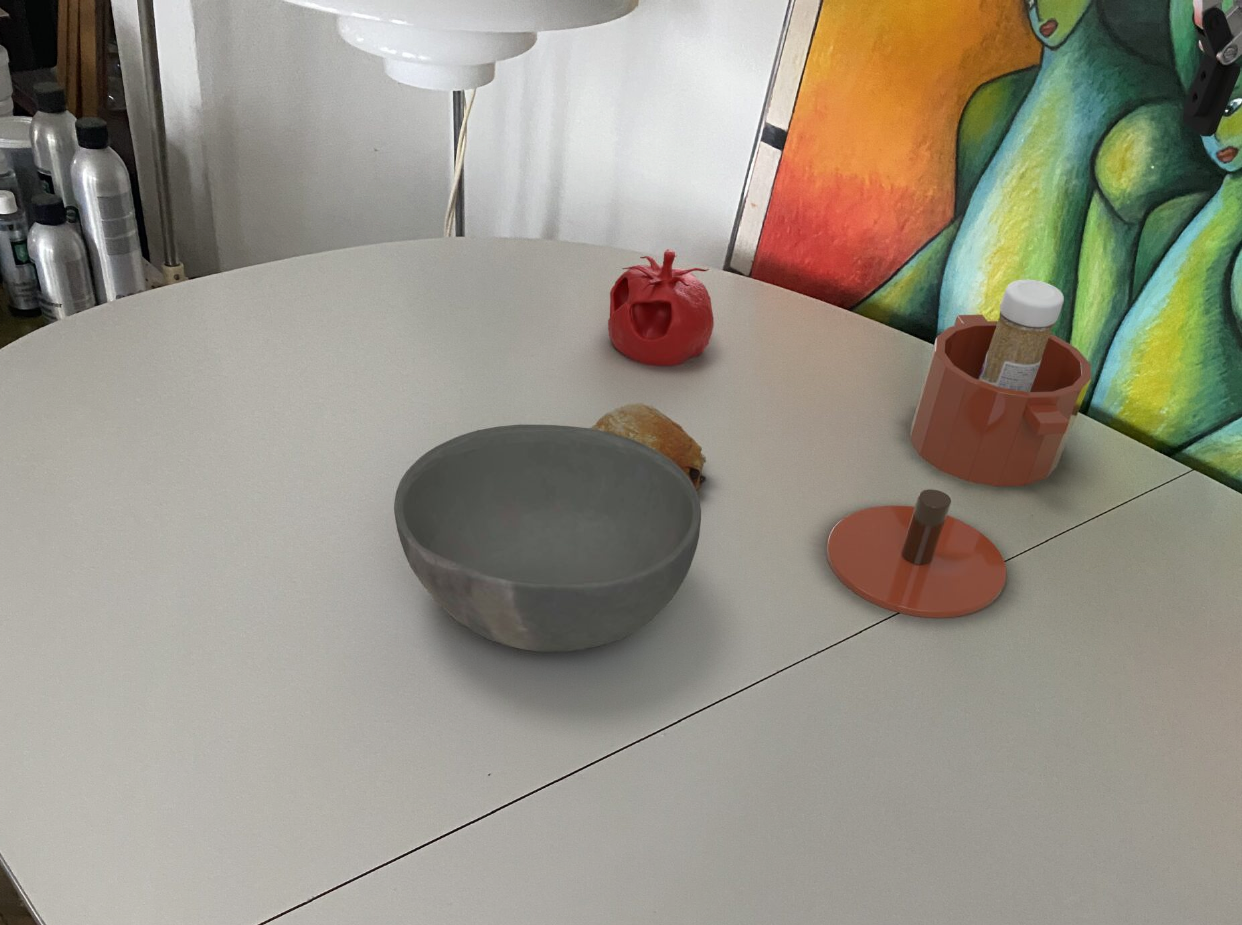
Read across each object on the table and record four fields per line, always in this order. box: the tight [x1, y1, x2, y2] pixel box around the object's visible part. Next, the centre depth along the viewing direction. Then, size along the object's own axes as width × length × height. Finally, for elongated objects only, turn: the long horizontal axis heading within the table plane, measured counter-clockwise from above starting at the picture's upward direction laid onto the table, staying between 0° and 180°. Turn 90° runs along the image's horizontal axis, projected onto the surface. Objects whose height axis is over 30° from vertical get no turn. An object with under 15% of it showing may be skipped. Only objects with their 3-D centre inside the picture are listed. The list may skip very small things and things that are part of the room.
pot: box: [909, 314, 1093, 488], centre depth 102 cm, size 13×18×8 cm
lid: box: [825, 489, 1007, 619], centre depth 90 cm, size 14×14×6 cm
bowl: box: [393, 424, 702, 653], centre depth 82 cm, size 20×20×10 cm
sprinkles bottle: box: [978, 279, 1065, 392], centre depth 99 cm, size 5×5×13 cm
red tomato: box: [607, 248, 715, 367], centre depth 109 cm, size 10×10×9 cm
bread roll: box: [589, 402, 707, 492], centre depth 96 cm, size 10×10×8 cm
